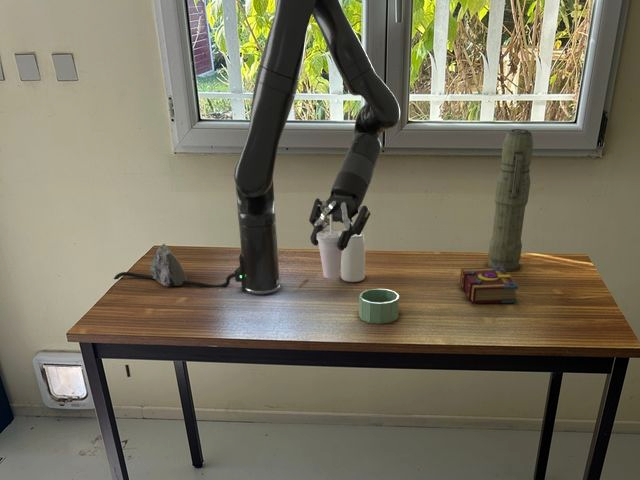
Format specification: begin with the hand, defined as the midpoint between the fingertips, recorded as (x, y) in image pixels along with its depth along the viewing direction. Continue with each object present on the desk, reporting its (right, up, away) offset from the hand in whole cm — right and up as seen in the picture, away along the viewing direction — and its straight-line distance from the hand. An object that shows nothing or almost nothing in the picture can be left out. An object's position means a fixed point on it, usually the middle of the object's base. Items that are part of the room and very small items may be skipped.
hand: (326, 246), depth 157 cm
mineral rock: (-44, +1, +33) cm, 55 cm away
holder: (+12, -13, +12) cm, 21 cm away
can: (+6, +1, +33) cm, 33 cm away
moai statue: (+49, +7, +41) cm, 64 cm away
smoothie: (+1, -5, +5) cm, 8 cm away
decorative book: (+41, -5, +24) cm, 47 cm away
